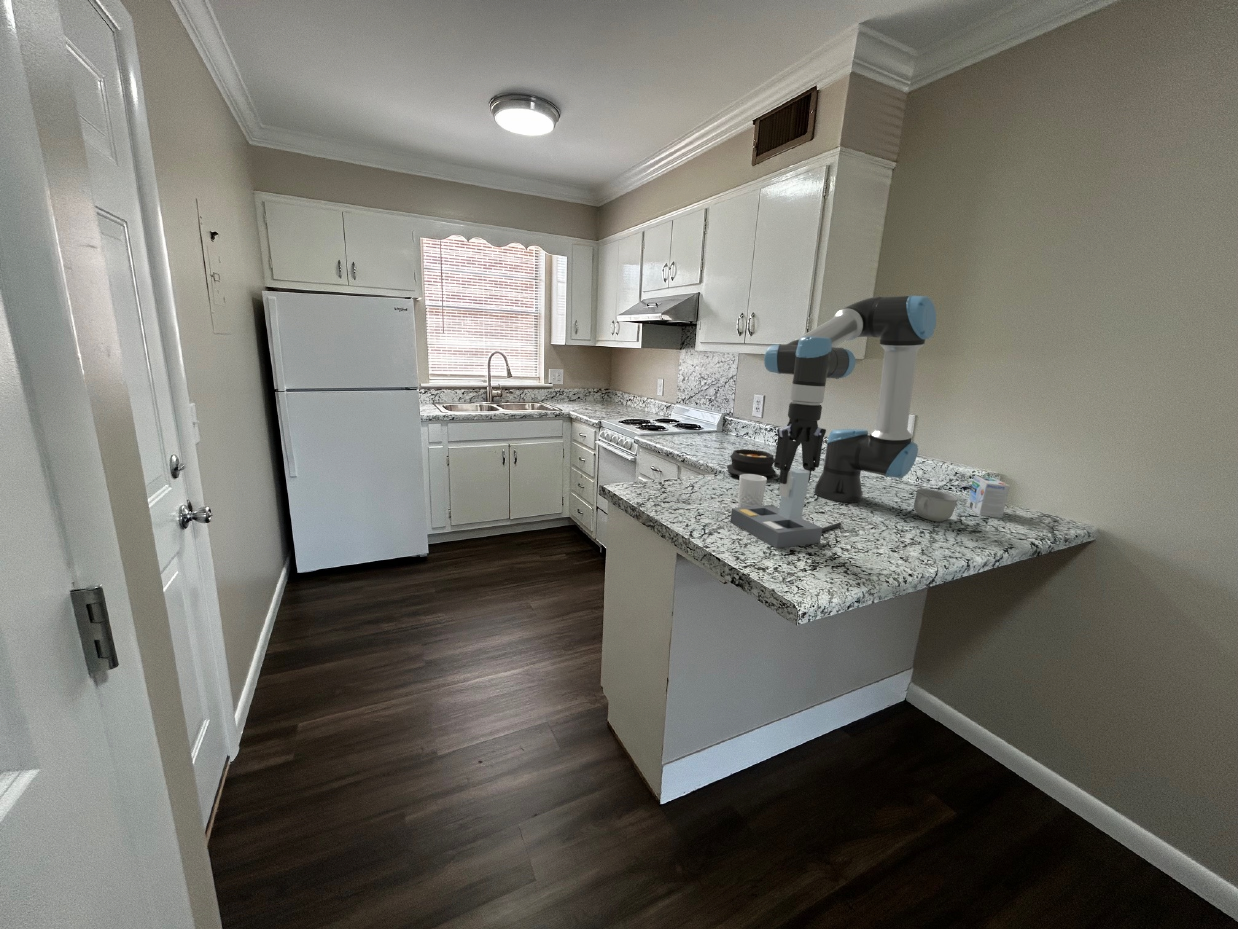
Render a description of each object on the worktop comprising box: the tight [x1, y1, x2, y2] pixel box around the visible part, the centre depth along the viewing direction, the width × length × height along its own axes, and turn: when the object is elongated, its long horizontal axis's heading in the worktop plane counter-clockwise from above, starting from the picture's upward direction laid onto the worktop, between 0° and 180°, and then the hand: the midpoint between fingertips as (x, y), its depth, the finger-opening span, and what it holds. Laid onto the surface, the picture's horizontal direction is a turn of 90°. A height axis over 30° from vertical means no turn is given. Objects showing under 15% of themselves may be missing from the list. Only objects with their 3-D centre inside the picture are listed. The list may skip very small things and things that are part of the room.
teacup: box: [913, 488, 959, 523], centre depth 154 cm, size 14×11×8 cm
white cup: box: [737, 474, 768, 508], centre depth 152 cm, size 8×8×10 cm
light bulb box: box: [966, 475, 1011, 519], centre depth 165 cm, size 11×7×11 cm, turn 165°
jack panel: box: [729, 504, 823, 549], centre depth 135 cm, size 14×19×4 cm
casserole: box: [726, 448, 777, 478], centre depth 197 cm, size 25×19×8 cm
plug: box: [778, 468, 809, 520], centre depth 128 cm, size 5×4×12 cm
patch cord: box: [822, 521, 842, 533], centre depth 138 cm, size 16×1×1 cm, turn 128°
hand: (792, 495), depth 128 cm, fingers closed on plug, 5 cm apart
